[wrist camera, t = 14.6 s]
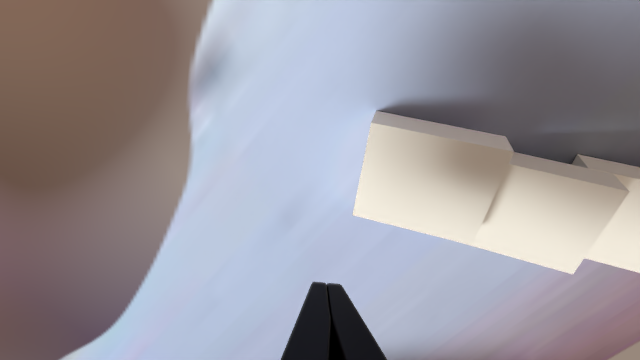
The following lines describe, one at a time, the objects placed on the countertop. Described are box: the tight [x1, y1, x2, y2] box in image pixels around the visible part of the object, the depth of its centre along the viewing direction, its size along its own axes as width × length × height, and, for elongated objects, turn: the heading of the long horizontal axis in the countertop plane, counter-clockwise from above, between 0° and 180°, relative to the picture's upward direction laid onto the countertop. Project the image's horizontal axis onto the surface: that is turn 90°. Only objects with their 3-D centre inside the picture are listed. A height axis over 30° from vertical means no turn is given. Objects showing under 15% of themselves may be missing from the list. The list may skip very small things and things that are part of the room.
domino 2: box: [467, 152, 630, 274], centre depth 16 cm, size 2×5×5 cm
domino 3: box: [572, 154, 640, 273], centre depth 16 cm, size 2×5×5 cm
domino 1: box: [353, 111, 514, 245], centre depth 15 cm, size 2×5×5 cm
